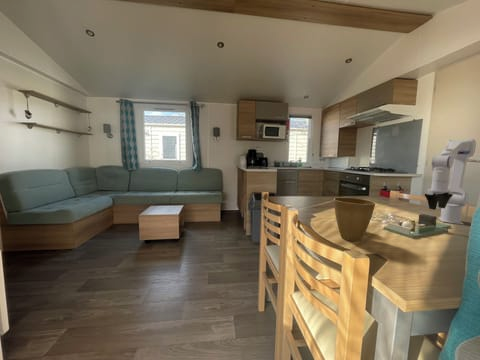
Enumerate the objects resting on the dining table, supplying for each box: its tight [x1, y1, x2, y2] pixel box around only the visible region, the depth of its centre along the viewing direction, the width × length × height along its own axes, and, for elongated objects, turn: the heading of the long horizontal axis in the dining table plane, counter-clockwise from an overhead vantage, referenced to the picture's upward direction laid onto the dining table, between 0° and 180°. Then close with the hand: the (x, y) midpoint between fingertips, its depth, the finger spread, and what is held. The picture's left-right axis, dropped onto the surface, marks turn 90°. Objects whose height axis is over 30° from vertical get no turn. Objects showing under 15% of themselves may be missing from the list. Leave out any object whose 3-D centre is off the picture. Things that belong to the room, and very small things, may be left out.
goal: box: [387, 218, 420, 235], centre depth 92 cm, size 6×9×4 cm
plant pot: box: [333, 196, 376, 242], centre depth 84 cm, size 15×15×16 cm
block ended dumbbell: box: [408, 213, 438, 230], centre depth 96 cm, size 14×5×5 cm, turn 111°
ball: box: [402, 220, 413, 229], centre depth 93 cm, size 4×4×4 cm
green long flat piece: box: [383, 220, 452, 239], centre depth 97 cm, size 36×12×3 cm, turn 111°
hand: (437, 208), depth 98 cm, fingers open, 7 cm apart
